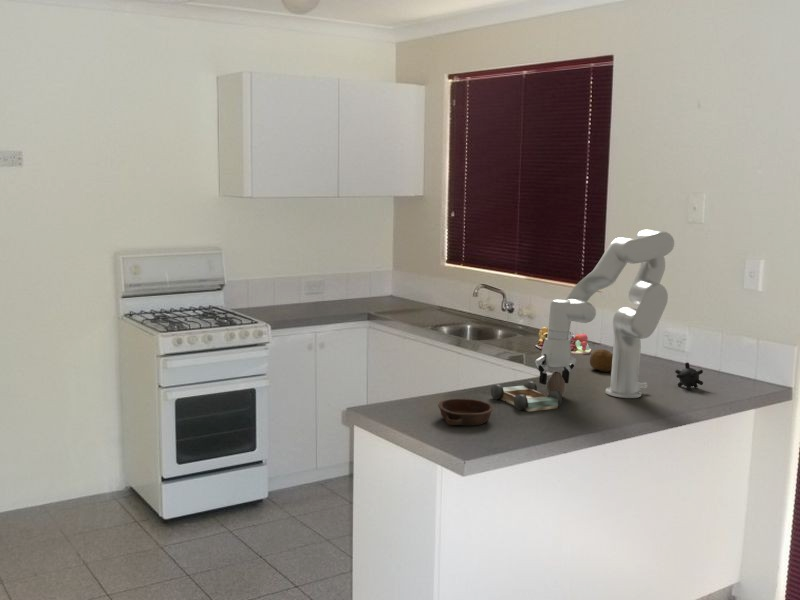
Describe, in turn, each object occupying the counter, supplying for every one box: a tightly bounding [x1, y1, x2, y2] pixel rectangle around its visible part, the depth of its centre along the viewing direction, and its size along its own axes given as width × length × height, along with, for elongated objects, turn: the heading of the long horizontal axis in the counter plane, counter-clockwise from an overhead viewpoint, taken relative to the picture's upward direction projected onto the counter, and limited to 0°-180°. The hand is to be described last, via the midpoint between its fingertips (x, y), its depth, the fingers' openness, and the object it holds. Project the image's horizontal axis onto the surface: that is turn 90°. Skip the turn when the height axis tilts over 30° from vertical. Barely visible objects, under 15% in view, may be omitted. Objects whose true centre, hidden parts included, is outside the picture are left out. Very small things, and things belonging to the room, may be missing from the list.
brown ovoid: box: [545, 371, 567, 397], centre depth 306 cm, size 7×7×9 cm
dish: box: [437, 398, 495, 427], centre depth 273 cm, size 18×22×5 cm
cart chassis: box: [490, 380, 563, 413], centre depth 297 cm, size 16×20×5 cm
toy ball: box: [674, 361, 704, 391], centre depth 326 cm, size 10×10×11 cm
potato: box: [589, 349, 613, 373], centre depth 349 cm, size 8×12×9 cm
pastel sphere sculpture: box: [535, 326, 592, 355], centre depth 393 cm, size 25×24×9 cm
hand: (553, 383), depth 306 cm, fingers open, 9 cm apart
